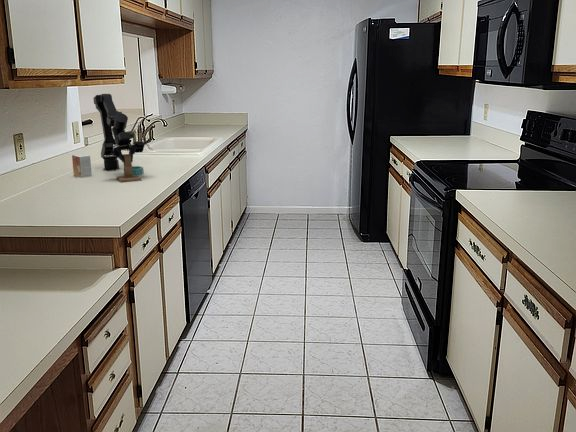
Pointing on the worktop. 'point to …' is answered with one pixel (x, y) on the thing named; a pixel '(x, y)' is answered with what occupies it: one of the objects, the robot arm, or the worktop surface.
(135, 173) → the bowl
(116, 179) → the mat
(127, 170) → the brown upright piece
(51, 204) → the worktop surface
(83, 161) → the small box
